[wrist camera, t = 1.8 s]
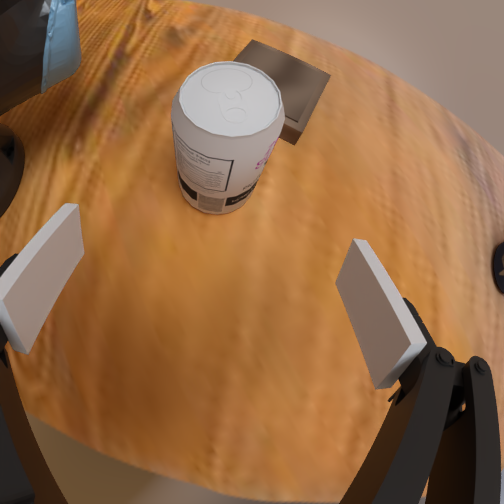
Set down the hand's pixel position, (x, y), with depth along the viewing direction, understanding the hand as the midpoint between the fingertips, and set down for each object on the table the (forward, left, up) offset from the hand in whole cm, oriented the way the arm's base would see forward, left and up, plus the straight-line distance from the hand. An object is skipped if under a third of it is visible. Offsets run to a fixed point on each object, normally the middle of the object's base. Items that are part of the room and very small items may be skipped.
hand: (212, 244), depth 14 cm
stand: (-4, +25, -18) cm, 31 cm away
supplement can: (-4, +10, -18) cm, 21 cm away
